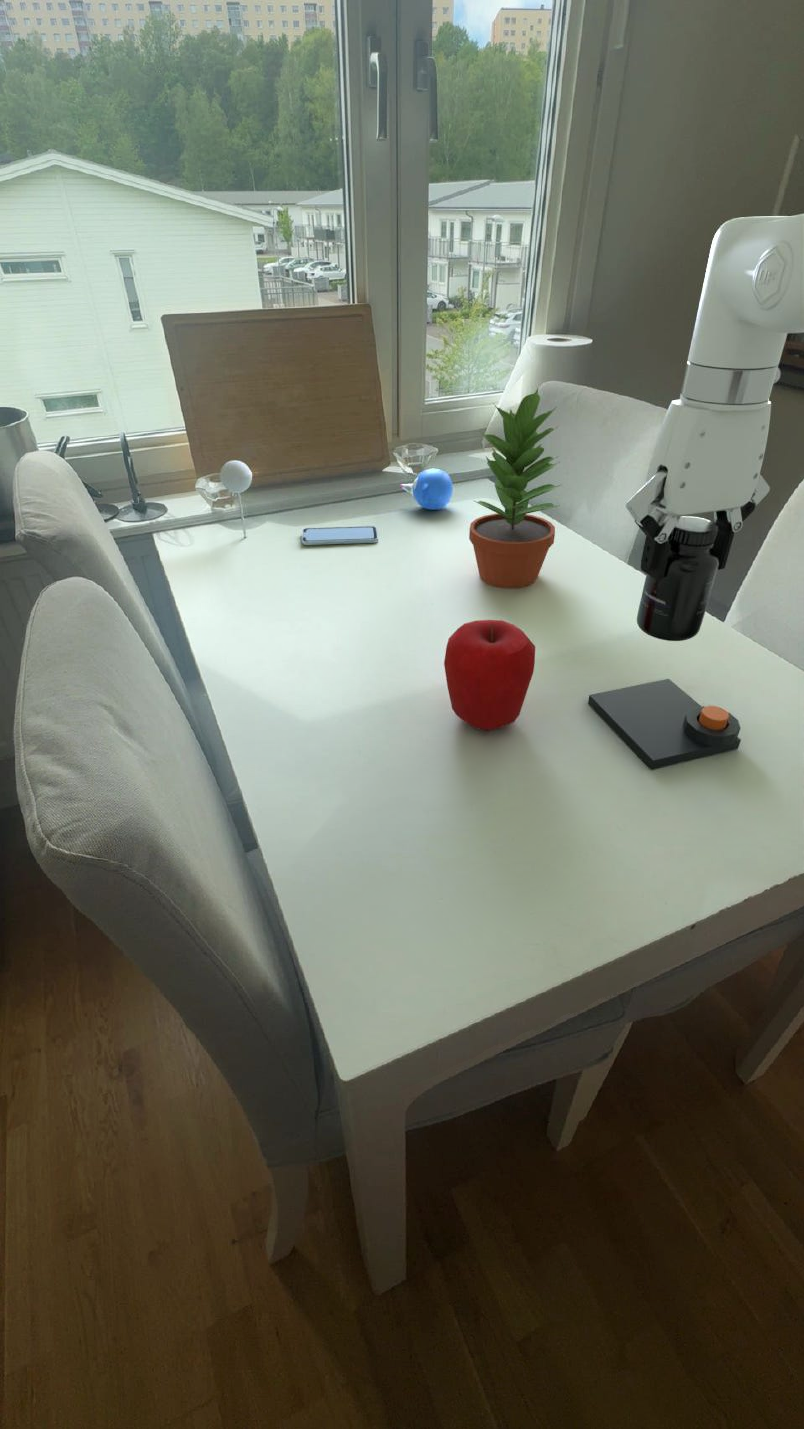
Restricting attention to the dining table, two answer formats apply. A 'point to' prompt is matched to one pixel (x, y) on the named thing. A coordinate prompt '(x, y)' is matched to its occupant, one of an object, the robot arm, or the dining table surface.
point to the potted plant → (515, 503)
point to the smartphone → (339, 535)
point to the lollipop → (236, 481)
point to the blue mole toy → (431, 489)
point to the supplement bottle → (681, 583)
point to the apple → (488, 672)
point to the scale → (662, 723)
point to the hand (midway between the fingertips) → (682, 568)
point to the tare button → (713, 718)
